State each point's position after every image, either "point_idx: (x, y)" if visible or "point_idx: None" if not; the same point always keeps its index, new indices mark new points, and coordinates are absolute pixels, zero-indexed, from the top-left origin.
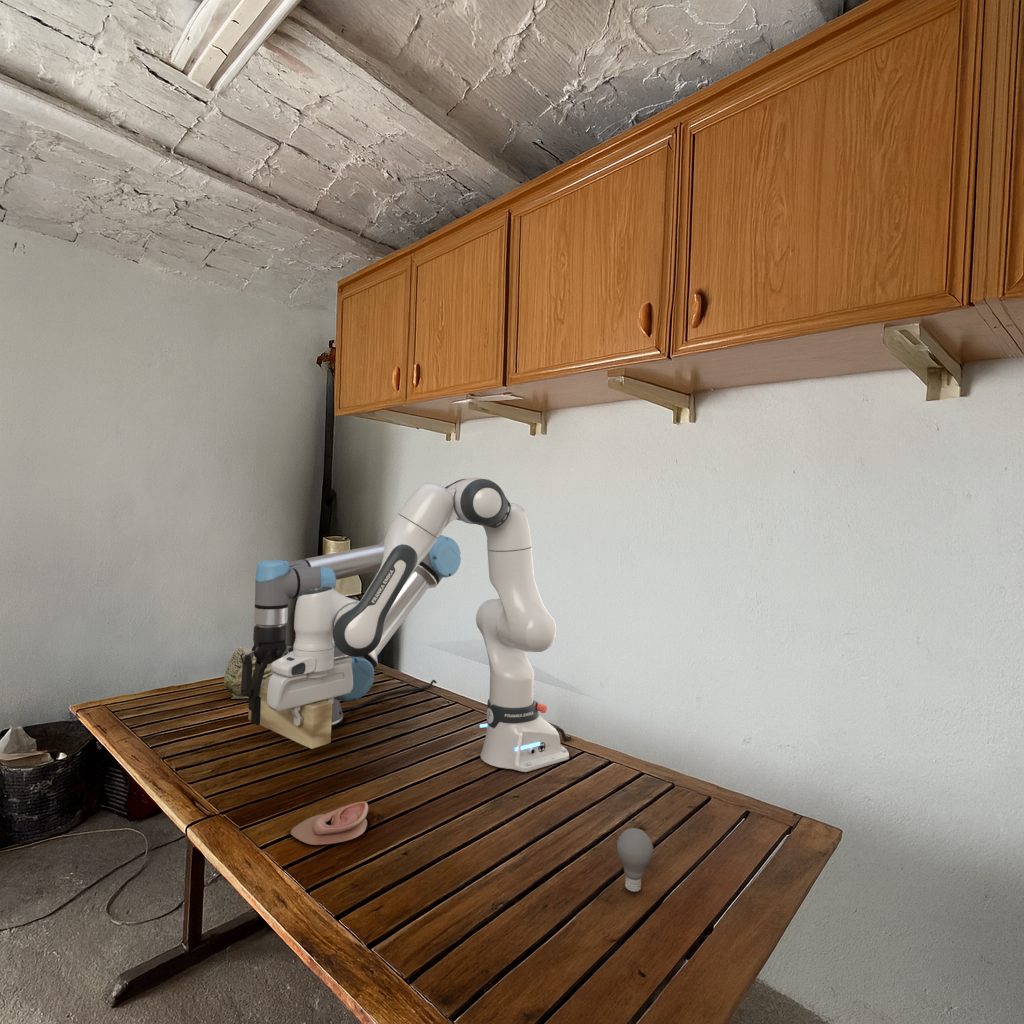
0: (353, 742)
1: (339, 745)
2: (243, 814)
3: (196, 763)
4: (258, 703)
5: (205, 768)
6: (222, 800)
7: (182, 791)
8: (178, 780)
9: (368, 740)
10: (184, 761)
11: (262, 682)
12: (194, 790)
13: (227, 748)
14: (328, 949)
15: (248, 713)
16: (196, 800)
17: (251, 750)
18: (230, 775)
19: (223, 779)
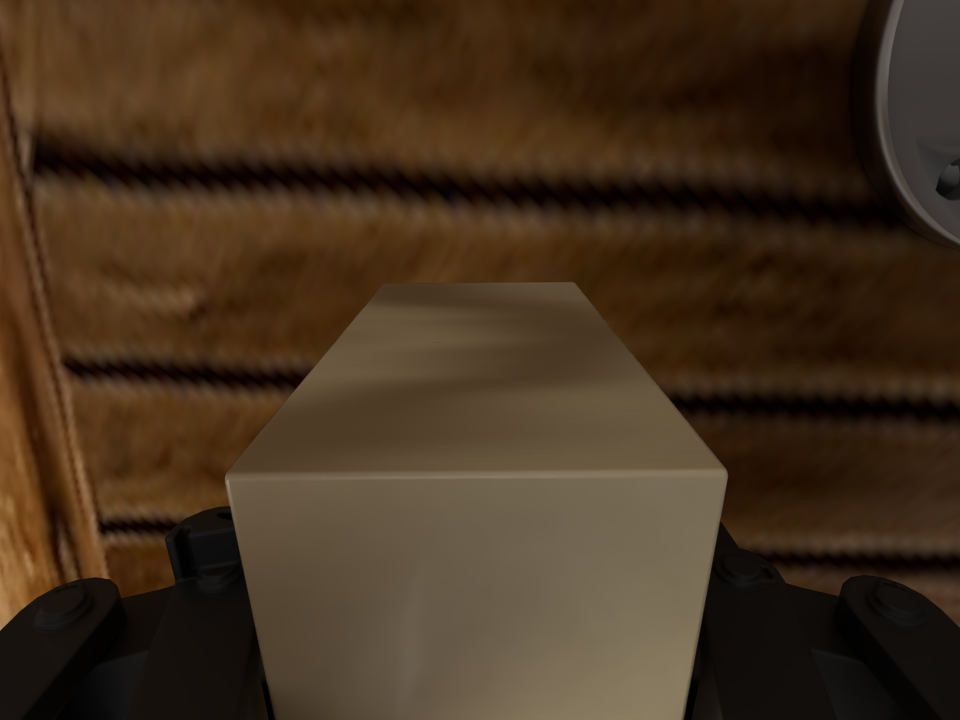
0: (889, 485)
1: (818, 470)
2: None
3: (148, 155)
4: None
5: (173, 259)
6: (151, 583)
7: (27, 421)
8: (25, 303)
9: (952, 513)
10: (93, 69)
11: (456, 621)
12: (74, 446)
13: (374, 57)
14: None
15: (372, 297)
16: (65, 525)
17: (467, 203)
18: (249, 417)
19: (209, 433)
